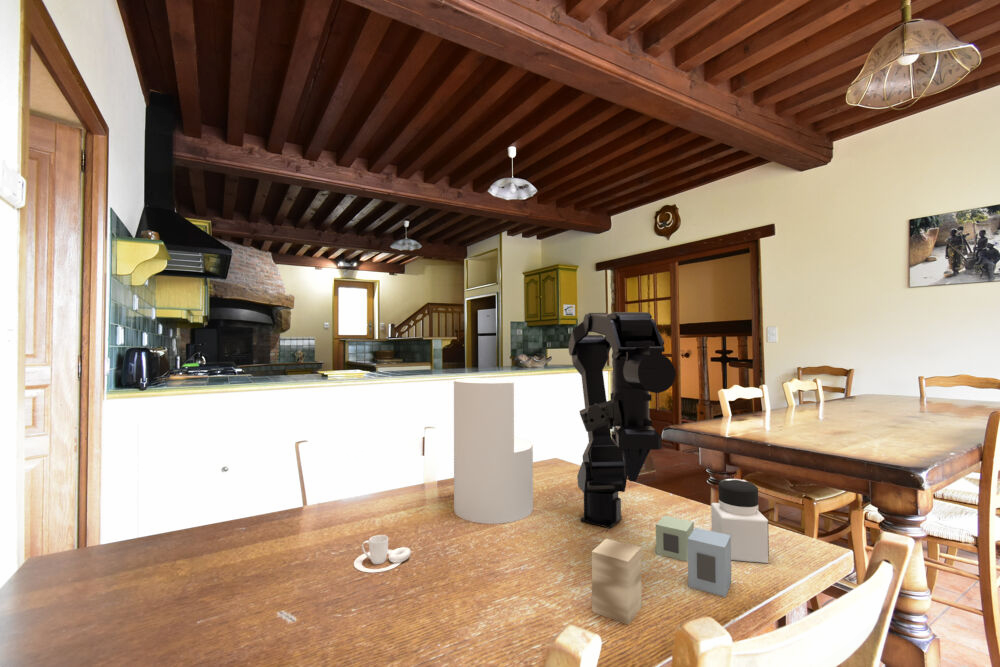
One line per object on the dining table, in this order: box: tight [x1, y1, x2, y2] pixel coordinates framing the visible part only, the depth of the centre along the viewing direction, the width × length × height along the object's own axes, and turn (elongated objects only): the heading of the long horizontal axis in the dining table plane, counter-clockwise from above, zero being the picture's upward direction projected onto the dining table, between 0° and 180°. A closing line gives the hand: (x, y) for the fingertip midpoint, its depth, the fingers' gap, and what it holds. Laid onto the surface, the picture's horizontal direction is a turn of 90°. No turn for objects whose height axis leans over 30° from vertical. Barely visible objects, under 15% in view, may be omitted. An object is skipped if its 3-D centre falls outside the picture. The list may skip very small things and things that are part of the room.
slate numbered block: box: [687, 527, 732, 598], centre depth 68 cm, size 5×5×7 cm
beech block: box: [591, 538, 643, 626], centre depth 61 cm, size 5×5×8 cm
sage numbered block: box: [655, 515, 695, 562], centre depth 78 cm, size 5×5×5 cm
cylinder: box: [453, 377, 534, 525], centre depth 100 cm, size 17×17×28 cm
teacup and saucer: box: [353, 534, 412, 574], centre depth 75 cm, size 9×8×4 cm
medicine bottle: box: [710, 478, 770, 564], centre depth 78 cm, size 7×7×12 cm
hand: (632, 480), depth 76 cm, fingers closed
